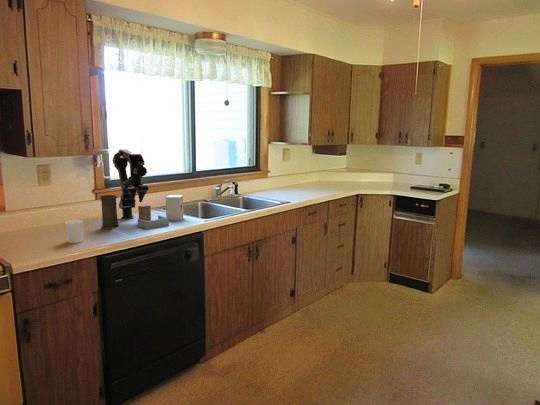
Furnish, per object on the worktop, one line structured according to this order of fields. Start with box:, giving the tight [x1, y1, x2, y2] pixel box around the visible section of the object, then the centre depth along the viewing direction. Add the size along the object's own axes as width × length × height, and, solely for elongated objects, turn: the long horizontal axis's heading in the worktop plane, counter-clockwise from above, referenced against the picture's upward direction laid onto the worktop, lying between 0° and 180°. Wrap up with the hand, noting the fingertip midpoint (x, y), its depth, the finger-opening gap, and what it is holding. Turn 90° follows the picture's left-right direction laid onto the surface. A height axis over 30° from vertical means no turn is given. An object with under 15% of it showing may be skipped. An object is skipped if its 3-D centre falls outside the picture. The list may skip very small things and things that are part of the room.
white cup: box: [65, 219, 84, 244], centre depth 199 cm, size 8×8×10 cm
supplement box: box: [165, 194, 184, 221], centre depth 247 cm, size 9×9×15 cm
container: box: [99, 194, 120, 230], centre depth 226 cm, size 9×9×18 cm
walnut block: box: [138, 204, 152, 221], centre depth 236 cm, size 5×5×11 cm
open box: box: [137, 215, 170, 230], centre depth 230 cm, size 10×14×5 cm
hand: (136, 201), depth 238 cm, fingers open, 9 cm apart
